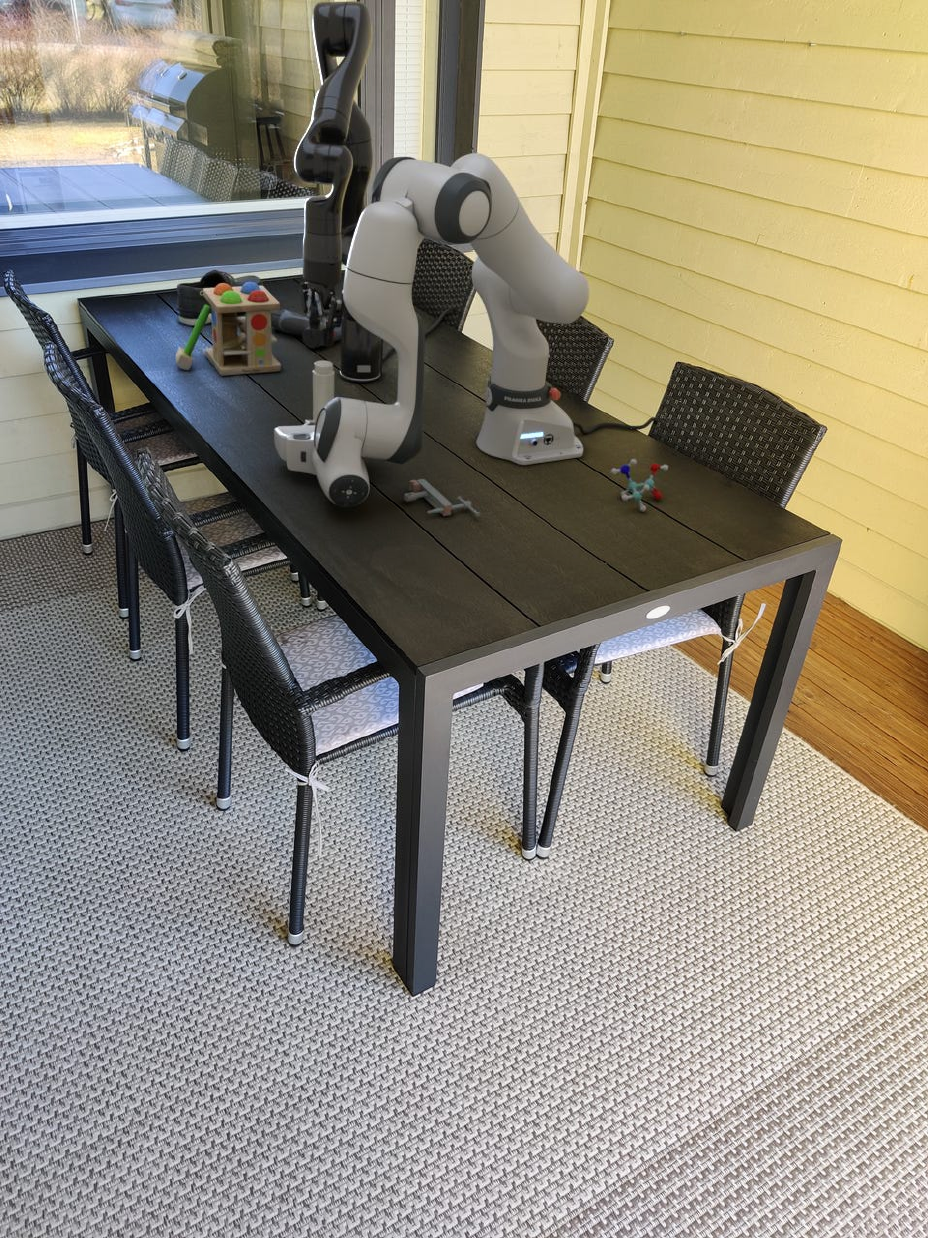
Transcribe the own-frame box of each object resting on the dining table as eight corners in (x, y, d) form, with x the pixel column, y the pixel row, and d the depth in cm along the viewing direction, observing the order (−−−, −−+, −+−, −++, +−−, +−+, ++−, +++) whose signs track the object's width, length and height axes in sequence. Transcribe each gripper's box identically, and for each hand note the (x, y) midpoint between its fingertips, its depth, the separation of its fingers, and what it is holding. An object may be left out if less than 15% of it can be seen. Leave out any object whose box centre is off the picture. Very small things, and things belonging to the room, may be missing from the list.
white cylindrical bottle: (337, 451, 197) (338, 361, 186) (329, 459, 193) (329, 368, 183) (317, 447, 197) (317, 358, 187) (309, 455, 194) (309, 364, 184)
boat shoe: (283, 304, 273) (281, 265, 267) (196, 327, 249) (192, 285, 243) (249, 295, 278) (246, 257, 273) (160, 318, 255) (156, 277, 249)
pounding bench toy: (183, 379, 220) (176, 299, 210) (169, 357, 231) (162, 280, 221) (282, 371, 230) (280, 294, 220) (264, 350, 240) (262, 276, 230)
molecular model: (670, 504, 181) (654, 452, 180) (621, 519, 184) (605, 468, 183) (677, 496, 191) (662, 447, 190) (631, 511, 195) (616, 462, 194)
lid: (309, 338, 196) (309, 329, 195) (307, 330, 200) (308, 321, 199) (334, 339, 197) (334, 330, 196) (332, 331, 201) (332, 322, 200)
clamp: (395, 482, 182) (442, 474, 187) (394, 493, 183) (441, 484, 188) (433, 519, 172) (482, 509, 176) (432, 530, 173) (481, 520, 178)
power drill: (305, 316, 264) (364, 334, 256) (257, 332, 251) (318, 351, 243) (305, 296, 261) (365, 314, 253) (257, 311, 248) (318, 330, 240)
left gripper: (287, 247, 193) (287, 332, 202) (324, 266, 184) (322, 355, 193) (320, 244, 197) (319, 328, 206) (358, 263, 188) (355, 350, 197)
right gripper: (389, 435, 183) (375, 406, 194) (279, 439, 177) (270, 409, 188) (388, 465, 186) (374, 435, 197) (279, 470, 181) (271, 439, 192)
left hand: (321, 341), depth 200 cm, fingers closed on lid, 4 cm apart
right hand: (322, 422), depth 193 cm, fingers closed on white cylindrical bottle, 4 cm apart
